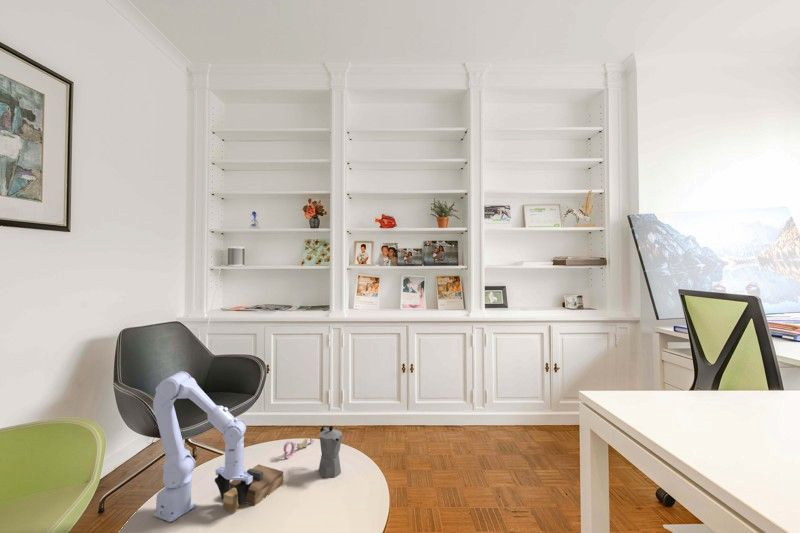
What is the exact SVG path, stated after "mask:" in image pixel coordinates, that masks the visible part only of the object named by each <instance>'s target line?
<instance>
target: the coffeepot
mask: <svg viewBox="0 0 800 533" xmlns="http://www.w3.org/2000/svg"><path fill="white" fill-rule="evenodd" d="M318 436H319V442H320V451H321V455H320V459H319V460H320V461H319V466H318V476H320V477H321V478H323V479H331V478H333V479H334V478H335V477H338V476H339V475H341V473H342V470H341V463H340V462H341V461H340V460H341V459H340V451H341V444H342V440H343V439H342V438H343V432H342V430H339V429H336V428H334V426H332V425H329V426H328V427H325V426H324V425H323V426H321V428H320V430H319V435H318Z"/></svg>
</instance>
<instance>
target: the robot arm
mask: <svg viewBox="0 0 800 533" xmlns="http://www.w3.org/2000/svg"><path fill="white" fill-rule="evenodd" d="M178 399H179V400H180V399H189V400H190V401H191V402H193V403H194V404H195V405H197V406H198V407H199V408H200V409H201V410H202V411H204V412H205V413H206V414H207V421H208V422H209V423H210V424H212V426H213V427H215V428H216V430H218V431H219V432H220V433H221V434H223V435H222V440H223V441H224V443H225V445H224V446H225V447H224V466H219V467H216V469H215V476H216V477H215V478H214V483H215V484H216V486H217V488H218V490H219V495H220V498H221V500H224V493H226V492H228V491H229V483H230V482H231V481H233V480H239V481H241V483H239V484H237V485H236V486H235V487H236V489H237V493H238V504H239V505H241V504H242V505H243V504H244V503H246V502H245V499H246V495H247V492H248V490H249V488H250V486H251V484H252V482H253V476H251V475H249V474H248V473H247V470H245V469H246V467H244V456H245V455H244V451H245V450H244V449H245V447H244V446H245V443H244V440H245V436H244V434H245V433H246V431H247V424H246V422H244V420H243V419H240V418H237V417H235V416H234V415H233V414H232V413H231V412H229V408H228V407H227V406H225V407H224V406H223V405H217V404H216V403H215V402H214V401H213V400H212V399H211V398H210V397H209V396H208V394H206V393H205V391H204V390H203V389H202V388H201V387H200V386H199V385H198V382H197V380H196V379H195V378H193V377H192V376H191V375H190V374H189V373H188V372H186V371H183V370H181V371H177V372H176V373H174V374H173V375H171V376H169V377H168V378H167V377H166V378H164V379H163V380H161V381H160V383H159V384H158V385H157V386H156V387H155V395H154V399H153V403H152V407H153V410H154V414H155V419H156V423H157V428H158V430H159V436H160V438H161V442H162V446H163V449H164V455H165V460H164V463H163V466H162V470H163V474H162V475H163V476H162V484H163V485H164V487H163V488H162V489H161V490H160V491H159V492H157V494H156V499H155V500H156V502H155V503H156V505H155V513H154V514H153V516H154V517H156V518H159V519H160V520H161V519H162V520H163V521H167V522H168V523H172V522H173V521H175V520H177V519H179V518H180V517H182V516H183V515H185V514H186V513H188V512H190V511H191V510H193V509H194V508H196V507H197V506H198V503H195V502H194V501H192V487H193V486H192V485H193V483H192V482H193V481H192V480H193V477H192V472H193V471H194V470H195V468H196V460H195V458H194V457H193V456H192V455H191V451H190V450H189V449H186V448H185V444H184V441H183V437H182V433H181V429H180V425H179V421H178V417H177V413H176V409H175V405H174V403H175V401H176V400H178Z"/></svg>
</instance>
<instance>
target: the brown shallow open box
mask: <svg viewBox="0 0 800 533" xmlns="http://www.w3.org/2000/svg"><path fill="white" fill-rule="evenodd" d="M282 484H283V485H284V474H283V475H281V476H280V477H279V478H277V479H276V480H274V481H273V482H272V483H270V484H269V485H267V486H266V487H265V488H263V489H262V490H261V491H259V492H258V493H256V494H252V493H249V492H247V495H246V499H245V502H244V503H246V502H247V503H246V504H249V503H250V504H249V505H252V506H256V505H257V504H259V503H260V502H262V501H263V500H264V499H265V498H267V497H268V496H269V495H271V494H272V493H274V492H275V491H276V490H277V489H279V488H280V487H282V486H283V485H282ZM232 488H234V487H231V486H229V490H231V489H232ZM274 490H275V491H274ZM270 493H271V494H270ZM267 495H268V496H267ZM266 496H267V497H266ZM263 498H264V499H263ZM262 499H263V500H262ZM258 502H259V503H258Z"/></svg>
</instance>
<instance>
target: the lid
mask: <svg viewBox="0 0 800 533" xmlns="http://www.w3.org/2000/svg"><path fill="white" fill-rule="evenodd" d="M246 472H247V473H248V474H249V475H251V476H253V482H252V484H251V486H250V488H249V490H248V492H249V493H252V494H256V493H258V492H259V491H261V490H262V489H263V488H265V487H266V486H267V485H269V484H270V483H272V482H273V481H274V480H276V479H277V478H279V477H280V476H281V475H283V476H284V471H283V470H279V469H276V468H272V467H268V466H266V465H261V464H257V465H255V466H253V467H252V468H248V469H247V470H246ZM239 483H241V481H239V480H230V483H229V486H231V487H234V488H236V487H235V486H236V485H237V484H239Z"/></svg>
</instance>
